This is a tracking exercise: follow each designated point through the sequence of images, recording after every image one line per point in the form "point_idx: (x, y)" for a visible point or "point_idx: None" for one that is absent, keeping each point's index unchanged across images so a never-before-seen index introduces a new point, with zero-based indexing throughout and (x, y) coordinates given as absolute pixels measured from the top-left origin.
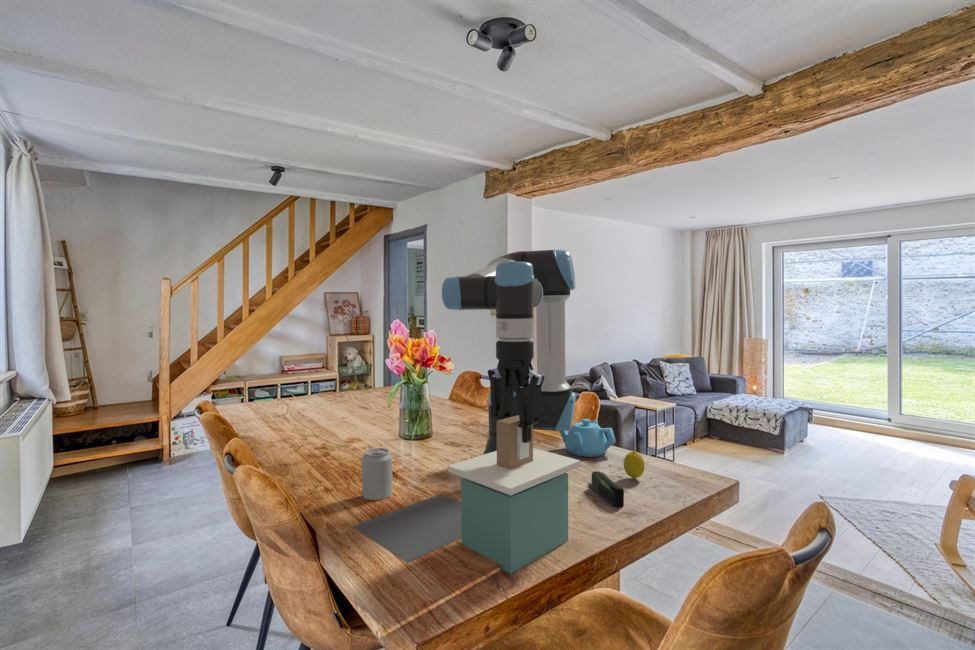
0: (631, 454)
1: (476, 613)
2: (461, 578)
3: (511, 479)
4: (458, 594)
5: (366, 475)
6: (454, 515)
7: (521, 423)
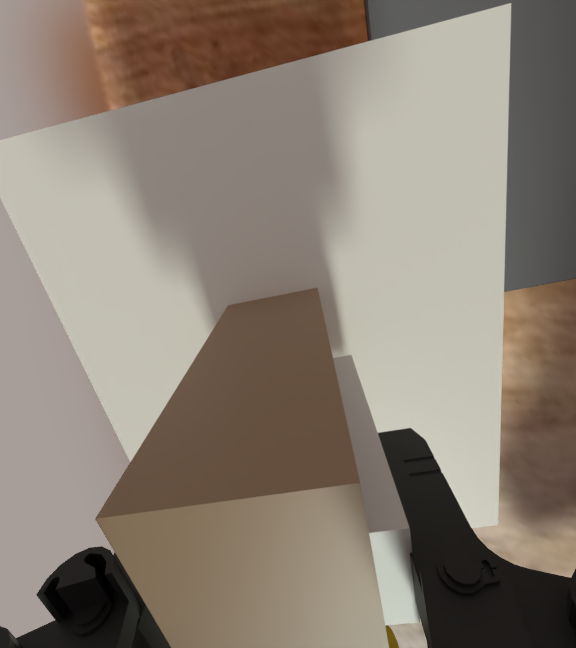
0: None
1: (89, 25)
2: (230, 72)
3: (95, 229)
4: (173, 25)
5: None
6: (506, 223)
7: (90, 612)
